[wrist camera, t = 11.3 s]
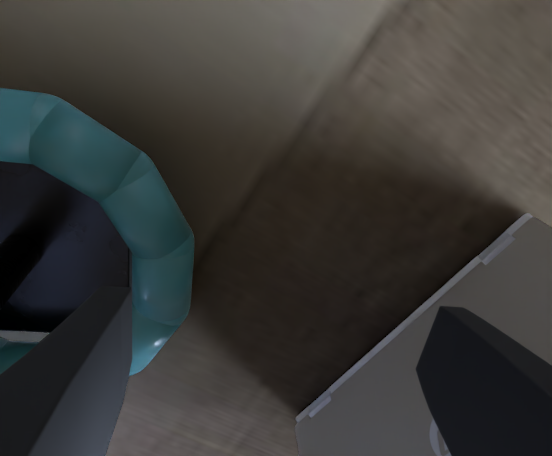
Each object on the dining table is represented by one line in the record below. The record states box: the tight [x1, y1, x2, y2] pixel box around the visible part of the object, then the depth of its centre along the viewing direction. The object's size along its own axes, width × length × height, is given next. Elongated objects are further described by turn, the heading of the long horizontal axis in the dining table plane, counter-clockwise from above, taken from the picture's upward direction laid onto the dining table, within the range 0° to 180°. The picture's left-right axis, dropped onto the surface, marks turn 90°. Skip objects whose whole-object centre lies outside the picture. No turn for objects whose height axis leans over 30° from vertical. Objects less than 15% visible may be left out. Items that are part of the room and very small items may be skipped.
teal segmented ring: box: [0, 88, 194, 376], centre depth 17 cm, size 14×14×2 cm
